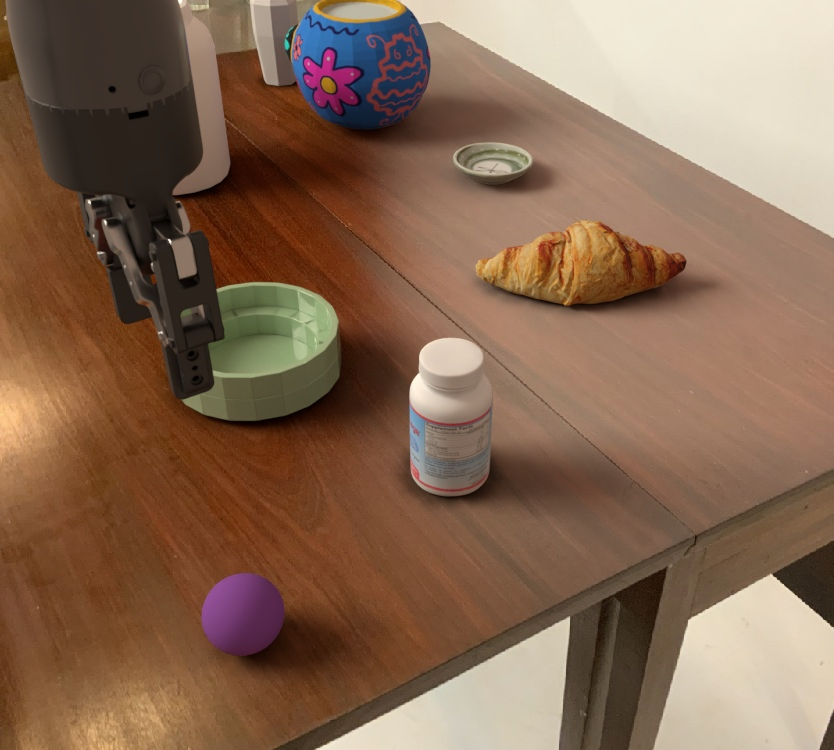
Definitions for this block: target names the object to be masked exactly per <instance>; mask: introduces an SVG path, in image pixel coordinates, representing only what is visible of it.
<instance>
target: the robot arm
mask: <svg viewBox="0 0 834 750" xmlns="http://www.w3.org/2000/svg"><path fill="white" fill-rule="evenodd" d="M5 7H6V8H5V10H6V19H7V27H8V32H9V37H10V41H11V45H12V49H13V53H14V57H15V62H16V65H17V69H18V74H19V77H20V80H21V85H22V88H23V92H24V96H25V100H26V104H27V108H28V111H29V116H30V119H31V122H32V123H31V124H32V127H33V131H34V134H35V139H36V143H37V146H38V150H39V154H40V158H41V162H42V166H43V169H44V171H45V174H47V176H48V178H50V180H52V181H53V182H54V183H56V184H57V185H58V186H60V187H62V188H65V189H66V190H69V191H71V192H75V193H76V195H77V198H78V203H79V208H80V212H81V216H82V221H83V224H84V229H83V232H84V235H85V237H86V238H88V240H89V242H90V243H91V244H94V246H95V249H96V251H97V252H96V257H97V259H98V261H100V262H101V265H102V266H103V267H105V270H106V275H107V279H108V283H109V287H110V292H111V296H112V300H113V305H114V309H115V313H116V316H117V317H118V319H119V320H120V322H121V323H122V324H125V325H130V324H133V323H138V322H140V321H144V320H147V319H150V318H152V321H153V324H154V326H155V329H156V336H157V338H158V341H159V342H160V345H161V351H162V355H163V360H164V364H165V370H166V376H167V379H168V385H169V389H170V391H171V392H172V394H173V395H174V397H175V398H176V399H177V400H180V401H182V400H183V399H187V398H190V397H193V396H196V395H198V394H201V393H204V392H207V391H209V390H211V389H212V387H213V386H214V376H213V370H212V364H211V358H210V352H209V346H208V344H209V343H212V342H217V341H220V340H223V339H224V338H225V335H224V326H223V323H222V318H221V312H220V306H219V301H218V295H217V290H216V289H217V286H216V280H215V274H214V267H213V262H212V257H211V252H210V242H209V239H208V237H207V236H206V235H205V233H204V231H203V230H202V229H199V230H195V231H194V230H193V231H190V230H191V222H190V220H189V217H188V214H187V211H186V208H185V207H184V204H183V203H182V201H180V200H176V198H175V197H174V195H172V194H173V190H174V189H175V187H176V186H177V185H178V183H179V182H180V181H182V180H183V179H184V178H185V177H186V176H189V175H190V174H191V173H192V172H194V171H195V170H196V168H197V167H198V166H199V164H200V162H201V160H202V157H203V145H202V138H201V132H200V125H199V118H198V112H197V105H196V99H195V92H194V85H193V78H192V72H191V65H190V59H189V52H188V45H187V39H186V32H185V26H184V21H183V16H182V12H181V9H180V5H179V2H178V0H5ZM153 275H154V277H155V281H156V283H153V281H152V276H153ZM189 308H190V310H191V313H192V314H190V315H187V316H184V317H181V313H182V312H183V311H184V310H186V309H189Z"/></svg>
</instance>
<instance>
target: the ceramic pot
mask: <svg viewBox="0 0 834 750" xmlns="http://www.w3.org/2000/svg"><path fill="white" fill-rule="evenodd" d="M425 35H426V34H425V32H424V30H423V28H422V26H421V24H420V22H419V20H418V18H417V17H416V15H415V14H414V12H413V11H411V9H410V8H409V7H408V6H406V5H405V4H403V3H402V2H401V1H399V0H320V1H317V2H316V3H314V4H313V5H312V7H310V8H309V10H308V11H306V13H305V14H304V15H303V17H302V19H301V21H300V22H298V24H297V25H295V26H293V27H292V28H291V29H290V30H289V31H288V33H287V35H286V38H285V50H286V54H287V56H288V58H289V60H290V61H291V63H292V64H293V69H294V74H295V78H296V81H295V82H296V85H297V87H298V89H299V92H300V94H301V95H302V97H303V99H304V100H305V101H306V103H307V104H308V106H309V107H310V109H311V110H312V111H313V112H314V113H316V114H317V115H318V116H319V117H320V118H322V119H323V120H324V121H326V122H329V123H332V124H333V125H336V126H339V127H343V128H346V129H349V130H350V129H351V130H359V131H360V130H362V131H367V130H368V131H370V130H378V129H383V128H386V127H390V126H392V125H394V124H397V123H399V122H400V121H403V120H404V119H406V118H409V116H410V115H411V114H412V113H413V112H414V111H415V109H416V108H417V107H418V106H419V103H420V102H421V100H422V98H423V96H424V94H425V92H426V90H427V87H428V85H429V80H430V77H431V76H430V75H431V67H432V64H431V63H432V61H431V55H430V50H429V45H428V42H427V41H428V40H427V37H426V36H425Z"/></svg>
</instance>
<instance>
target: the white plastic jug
mask: <svg viewBox="0 0 834 750" xmlns="http://www.w3.org/2000/svg"><path fill="white" fill-rule="evenodd" d="M178 2H179V5H180V9H181V12H182V16H183V21H184V26H185V32H186V39H187V45H188V52H189V59H190V65H191V72H192V78H193V85H194V92H195V99H196V105H197V112H198V118H199V125H200V132H201V138H202V145H203V157H202V160H201V162H200V164H199V166H198V167H197V168H196V170H195V171H194V172H192V173H191V174H190V175H189V176H186V177H185V178H184V179H183V180H182V181H180V182H179V183H178V185H177V186H176V187H175V189H174V190H173V194H172V195H173V196H180V195H186V194H192V193H193V194H194V193H197V192H200V191H204V190H207V189H210V188H212V187H214V186H215V185H218V184H220V183H221V182H223V180H224V179H225V178H226V177H227V176H228V175H229V171H230V167H231V156H230V148H229V142H228V134H227V127H226V121H225V120H226V119H225V112H224V104H223V96H222V90H221V82H220V76H219V68H218V60H217V59H218V58H217V53H216V46H215V42H214V40H213V37H212V34H211V32H210V30H209V28H208V27H207V25H206V24H205V23H204V22H202V21H201V20H200V19H198V18H197V16H194V15H193V11H192V7H191V6H190V4H189V3H188V0H178Z"/></svg>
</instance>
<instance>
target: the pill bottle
mask: <svg viewBox="0 0 834 750" xmlns="http://www.w3.org/2000/svg"><path fill="white" fill-rule="evenodd" d="M484 373H485V355H484V352H483V350H482V349H481V348H480V347H479V346H478V345H477V344H476V343H474V342H472V341H470V340H467V339H465V338H461V337H460V338H459V337H443V338H438V339H434V340H433V341H430V342H428V343H427V344H426V345H424V346H423V347H422V349H421V350H420V352H419V356H418V373H417V375H415V377H414V378H413V379H412V382H411V384H410V387H409V395H408V396H409V460H410V461H409V462H410V473H411V474H410V475H411V477H412V478H413V480H414V482H415V483H416V485H417V486H418V487H420V488H421V489H422V490H424V491H425V492H427V493H430V494H433V495H436V496H441V497H460V496H465V495H469V494H471V493H473V492H475V491H477V490H478V489H480V487H482V486H483V485H484V484H485V482H486V481H487V479H488V476H489V474H490V466H491V451H492V450H491V449H492V426H493V425H492V421H493V400H494V399H493V397H494V393H493V387H492V384H491V382H490V380H489V378H488V376H486V375H485V374H484Z"/></svg>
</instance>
